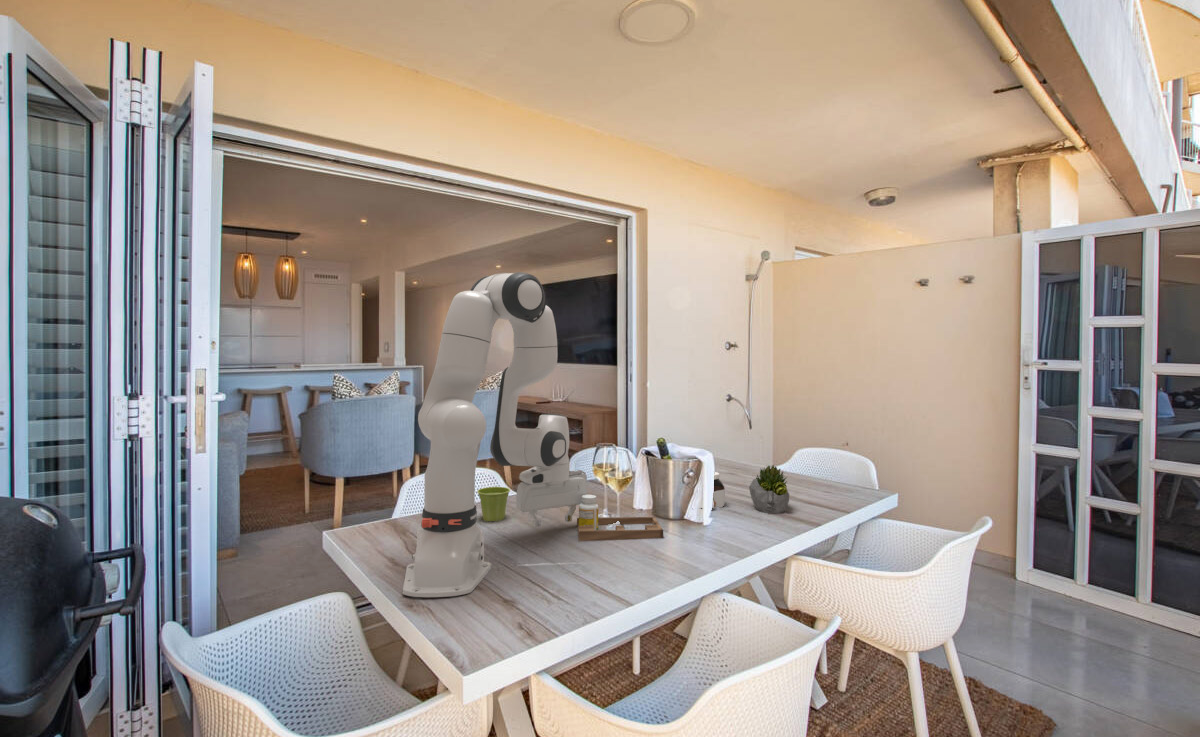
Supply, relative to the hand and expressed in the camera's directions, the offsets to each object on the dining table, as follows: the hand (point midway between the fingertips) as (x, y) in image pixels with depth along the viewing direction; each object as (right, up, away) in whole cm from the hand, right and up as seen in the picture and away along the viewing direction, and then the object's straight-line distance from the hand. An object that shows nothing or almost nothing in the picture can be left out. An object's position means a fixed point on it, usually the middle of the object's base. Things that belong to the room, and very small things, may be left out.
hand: (552, 523), depth 152 cm
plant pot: (-18, -2, +11) cm, 21 cm away
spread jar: (+46, -3, +22) cm, 52 cm away
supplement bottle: (+10, -3, +1) cm, 10 cm away
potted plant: (+65, -3, +21) cm, 69 cm away
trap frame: (+18, -2, -1) cm, 18 cm away
